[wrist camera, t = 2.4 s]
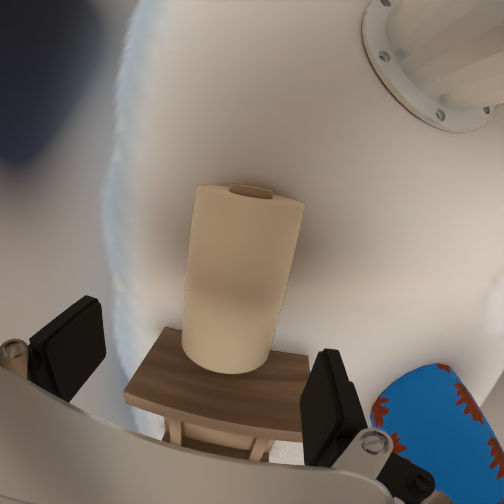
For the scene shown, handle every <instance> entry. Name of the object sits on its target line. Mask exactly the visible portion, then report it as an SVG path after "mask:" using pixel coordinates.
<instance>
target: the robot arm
mask: <svg viewBox="0 0 504 504" xmlns="http://www.w3.org/2000/svg"><path fill="white" fill-rule="evenodd" d="M362 34H363V41H364V45H365V48H366V51H367V54H368V57H369V59H370V61H371V63H372V65H373V67H374V69H375V71H376V72H377V74H378V75H379V77H380V78H381V80H382V81H383V83H384V84H385V86H386V87H387V88H388V89H389V90H390V92H391V93H392V94H393V95H394V96H395V97H396V98H397V100H398V101H399V102H401V103H402V104H403V105H404V106H405V107H406V108H407V109H408V110H409V111H410V112H412V113H413V114H414V115H416V116H417V117H419V118H420V119H421V120H423V121H424V122H426V123H428V124H430V125H432V126H434V127H436V128H439V129H442V130H445V131H448V132H469V131H473V130H476V129H479V128H481V127H482V126H483V125H484V124H486V123H487V122H488V120H489V119H490V118H491V116H492V114H493V111H494V108H495V105H498V104H504V0H373V1H372V2H371V4H370V5H369V7H368V8H367V10H366V12H365V15H364V18H363V23H362ZM380 58H381V59H382V60H383V61H382V60H381V59H380ZM29 340H30V344H29V345H27V344H26V342H24V341H23V340H20V339H10V340H7V341H6V342H4V343H3V344H2V345H1V346H0V504H456V503H454V502H453V501H452V500H451V499H450V498H449V497H448V496H447V495H446V494H445V493H443V492H442V491H441V490H439V491H438V492H437V491H436V490H435V479H434V477H433V476H432V474H431V473H429V472H428V471H426V470H425V469H423V468H421V467H419V466H417V465H415V464H413V463H411V462H410V461H408V460H406V459H404V458H402V457H401V456H399V455H397V454H395V453H394V452H392V450H393V441H392V439H391V437H390V436H389V435H388V434H387V433H386V432H384V431H383V430H380V429H378V428H368V426H367V423H366V420H365V417H364V414H363V410H362V407H361V404H360V401H359V398H358V395H357V392H356V389H355V386H354V384H353V382H351V381H349V379H348V376H347V373H346V370H345V367H344V364H343V361H342V358H341V355H340V352H339V350H335V349H326V348H325V349H324V350H323V352H322V351H319V353H318V355H317V357H316V360H315V363H314V365H313V368H312V370H311V373H310V375H309V378H308V380H307V383H306V385H305V388H304V390H303V392H302V395H301V397H300V414H301V426H302V438H303V451H304V464H305V466H303V465H290V464H278V463H268V462H260V461H252V460H245V459H238V458H232V457H226V456H221V455H216V454H211V453H206V452H202V451H197V450H193V449H189V448H185V447H181V446H178V445H174V444H170V443H167V442H164V441H160V440H157V439H154V438H151V437H148V436H145V435H142V434H139V433H136V432H133V431H131V430H128V429H125V428H123V427H120V426H118V425H115V424H113V423H110V422H108V421H106V420H103V419H101V418H98V417H96V416H94V415H92V414H90V413H88V412H86V411H84V410H81V409H80V408H77V407H75V406H74V405H72V404H70V403H69V402H70V401H71V400H72V398H73V397H74V396H75V394H76V393H77V392H78V391H79V389H80V388H81V387H82V385H83V384H84V383H85V382H86V381H87V379H88V378H89V377H90V376H91V374H92V373H93V372H94V371H95V369H96V368H97V367H98V366H99V364H100V363H101V362H102V361H103V360H104V358H105V356H106V346H105V339H104V329H103V320H102V308H101V304H100V303H99V301H98V299H96V298H93V297H90V296H84V297H83V298H81V299H80V300H78V301H77V302H76V303H74V304H73V305H72V306H70V307H69V308H68V309H66V310H65V311H64V312H63V313H61V314H60V315H59V316H57V317H56V318H55V319H53V320H52V321H51V322H50V323H48V324H47V325H46V326H45V327H43V328H42V329H41V330H40V331H38V332H37V333H36V334H35V335H33V336H32V337H31V338H30V339H29Z"/></svg>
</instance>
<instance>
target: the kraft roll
mask: <svg viewBox="0 0 504 504" xmlns="http://www.w3.org/2000/svg"><path fill="white" fill-rule="evenodd" d="M273 193H274V191H272V190H269V189H265V188H261V187H256V186H250V185H243V184H230V187H228V186H216V185H201V186H197V187H196V192H195V200H194V207H193V215H192V223H191V231H190V240H189V249H188V259H187V270H186V281H185V293H184V307H183V323H182V347H183V350H184V352H185V353H186V355H187V356H188V357H189V358H190V359H191V360H192V361H193V362H195V363H196V364H198V365H199V366H201V367H203V368H206V369H208V370H211V371H214V372H219V373H225V374H240V373H246V372H249V371H252V370H255V369H257V368H258V367H260V366H261V365H262V364H263V363H264V362H265V361H266V360H267V358H268V355H269V351H270V348H271V344H272V340H273V337H274V333H275V329H276V325H277V322H278V318H279V314H280V310H281V306H282V302H283V298H284V294H285V290H286V286H287V282H288V278H289V274H290V270H291V265H292V261H293V257H294V253H295V248H296V244H297V239H298V235H299V231H300V226H301V221H302V217H303V212H304V207H305V205H304V204H302V203H300V202H298V201H295V200H292V199H289V198H286V197H282V196H279V195H274V194H273Z"/></svg>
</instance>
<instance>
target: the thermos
mask: <svg viewBox="0 0 504 504" xmlns="http://www.w3.org/2000/svg"><path fill="white" fill-rule="evenodd" d="M371 422H372V427H373V428H378V429H380V430H383V431H384V432H386V433H387V434H388V435H389V436H390V437H391V439H392V441H393V450H392V452H394V453H395V454H397V455H399V456H401V457H402V458H404V459H406V460H408V461H410V462H411V463H413V464H415V465H417V466H419V467H421V468H423V469H425V470H426V471H428V472H429V473H431V474H432V476H433V477H434V479H435V490H436V491H437V492H438V491H439V490H441V491H442V492H443V493H445V494H446V495H447V496H448V497H449V498H450V499H451V500H452V501H453V502H454V503H456V504H504V451H503V449H502V447H501V446H500V443H499V442H498V440H497V438H496V436H495V434H494V432H493V430H492V429H491V427H490V425H489V424H488V422H487V420H486V418H485V417H484V415H483V413H482V411H481V410H480V408H479V407H478V405H477V403H476V402H475V400H474V398H473V397H472V395H471V394H470V392H469V391H468V390H467V388H466V387H465V386H464V384H463V383H462V382H461V381H460V379H459V378H458V377H457V375H456V374H455V373H454V372H453V371H452V370H451V368H450V367H449V366H447V365H442V364H433V365H427V366H423V367H421V368H418V369H416V370H414V371H412V372H409V373H407V374H406V375H404V376H403V377H401V378H400V379H398V380H397V381H395V382H394V383H392V384H391V385H390V386H389V387H388V388H387V389H386V390H385V391H384V392H383V393H382V394H381V395H380V396H379V397H378V399H377V400H376V402H375V404H374V405H373V407H372V411H371Z"/></svg>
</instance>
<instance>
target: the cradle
mask: <svg viewBox="0 0 504 504" xmlns="http://www.w3.org/2000/svg"><path fill="white" fill-rule="evenodd" d="M309 375H310V368H309V360H308V356H303V355H296V354H289V353H283V352H277V351H271V350H270V351H269V355H268V358H267V360H266V361H265V362H264V363H263V364H262V365H261V366H260V367H258V368H257V369H255V370H252V371H249V372H246V373H240V374H225V373H219V372H214V371H211V370H208V369H206V368H203V367H201V366H199V365H198V364H196V363H195V362H193V361H192V360H191V359H190V358H189V357H188V356H187V355H186V353H185V352H184V350H183V347H182V331H178V330H175V329H171V328H167V327H165V328H164V330H163V331H162V333H161V334H160V336H159V337H158V339H157V340H156V342H155V343H154V345H153V346H152V348H151V349H150V351H149V352H148V354H147V355H146V357H145V358H144V360H143V362H142V363H141V365H140V366H139V368H138V369H137V371H136V372H135V374H134V375H133V377H132V379H131V380H130V382H129V383H128V385H127V386H126V388H125V389H124V391H123V393H124V398H125V402H126V403H127V404H130V405H132V406H135V407H138V408H140V409H143V410H146V411H149V412H152V413H155V414H158V415H161V416H164V419H165V430H166V431H165V434H164V436H163V439H162V441H164V442H167V443H170V444H174V445H178V446H181V447H185V448H189V449H193V450H197V451H202V452H206V453H211V454H216V455H221V456H226V457H232V458H238V459H245V460H252V461H260V462H268V463H269V452H270V450H271V448H272V446H273V444H274V442H275V440H280V441H290V442H303V438H302V426H301V414H300V397H301V395H302V392H303V390H304V388H305V385H306V383H307V380H308V378H309Z"/></svg>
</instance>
